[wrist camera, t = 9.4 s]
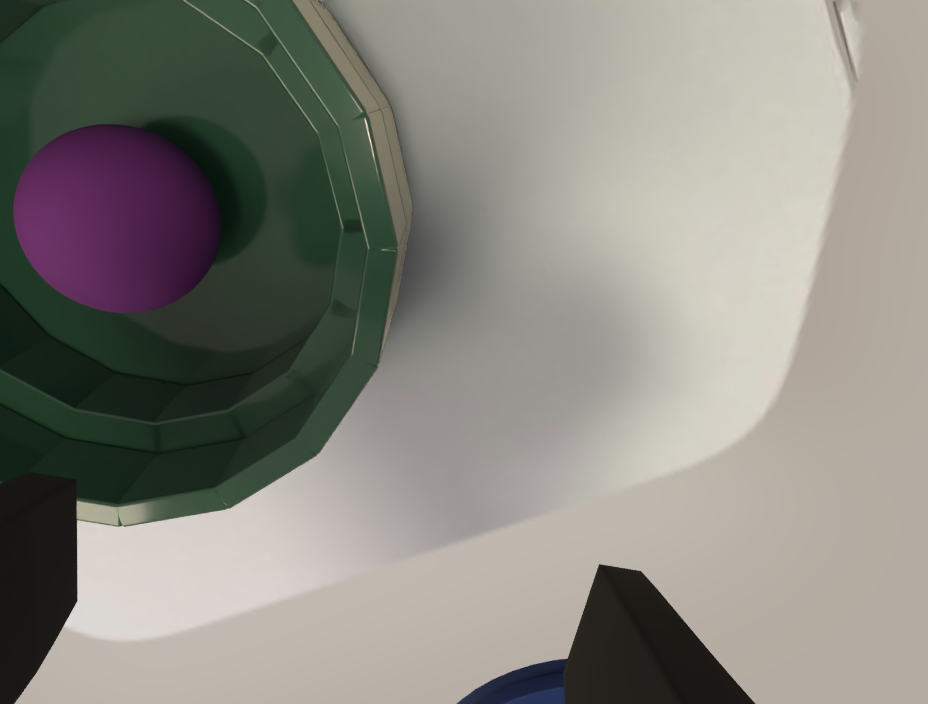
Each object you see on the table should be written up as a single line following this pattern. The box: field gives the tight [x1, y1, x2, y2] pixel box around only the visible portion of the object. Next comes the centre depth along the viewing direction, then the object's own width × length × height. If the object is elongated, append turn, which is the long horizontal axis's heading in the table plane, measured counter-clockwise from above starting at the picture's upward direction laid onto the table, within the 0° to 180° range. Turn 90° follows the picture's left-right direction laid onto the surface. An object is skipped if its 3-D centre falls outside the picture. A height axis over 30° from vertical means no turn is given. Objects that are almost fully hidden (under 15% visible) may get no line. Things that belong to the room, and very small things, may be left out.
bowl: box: [0, 0, 413, 527], centre depth 15 cm, size 12×12×5 cm
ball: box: [13, 124, 221, 313], centre depth 15 cm, size 4×4×4 cm
